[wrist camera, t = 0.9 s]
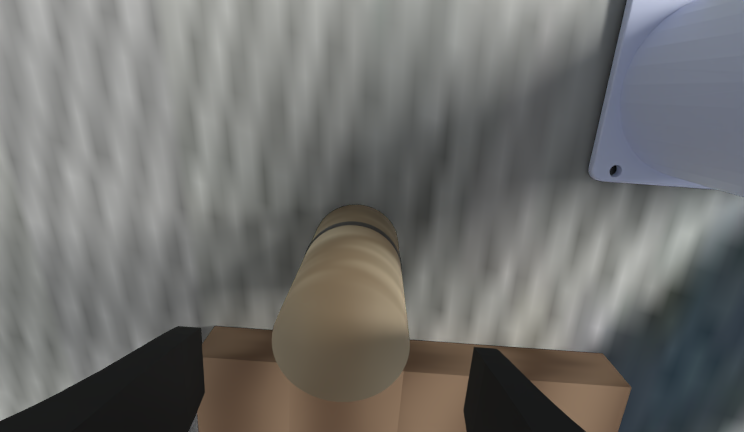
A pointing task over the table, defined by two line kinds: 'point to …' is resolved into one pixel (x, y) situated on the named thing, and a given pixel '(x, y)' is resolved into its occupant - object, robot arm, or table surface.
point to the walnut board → (392, 389)
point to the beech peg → (345, 310)
